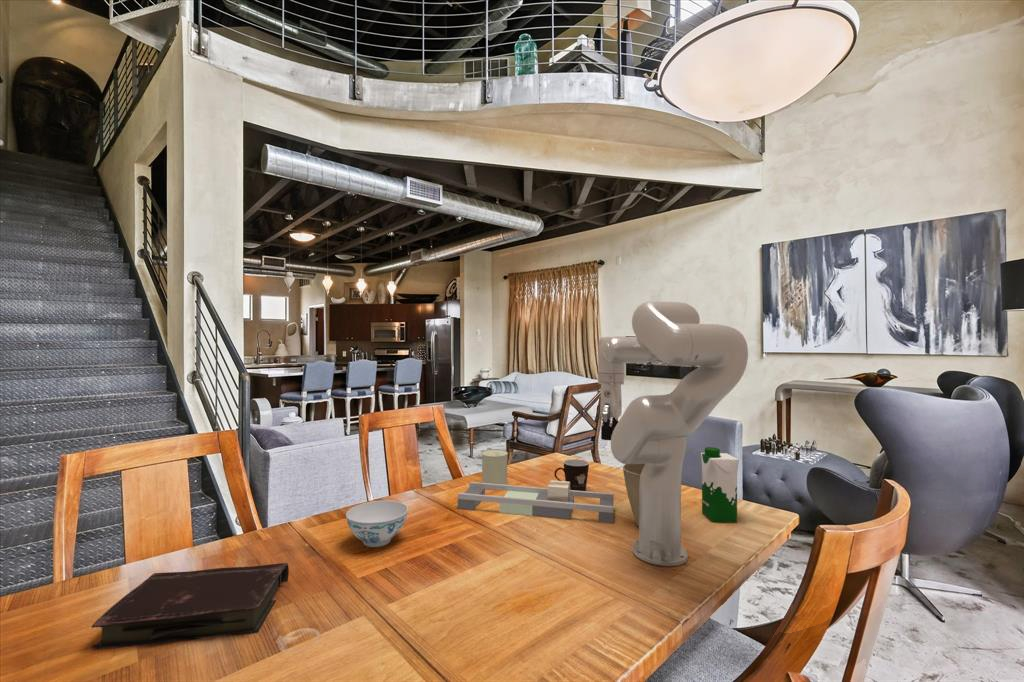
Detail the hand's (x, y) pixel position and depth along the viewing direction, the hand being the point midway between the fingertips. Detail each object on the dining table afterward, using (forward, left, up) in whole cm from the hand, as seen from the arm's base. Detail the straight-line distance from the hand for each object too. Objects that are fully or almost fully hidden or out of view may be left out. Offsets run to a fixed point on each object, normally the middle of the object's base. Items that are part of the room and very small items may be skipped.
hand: (609, 436), depth 133 cm
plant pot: (-6, -11, -23) cm, 26 cm away
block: (-1, +15, -20) cm, 25 cm away
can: (+17, +40, -23) cm, 49 cm away
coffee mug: (+17, +13, -23) cm, 31 cm away
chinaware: (-33, +57, -23) cm, 70 cm away
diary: (-68, +73, -24) cm, 103 cm away
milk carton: (+5, -31, -23) cm, 39 cm away
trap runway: (-1, +22, -23) cm, 32 cm away
